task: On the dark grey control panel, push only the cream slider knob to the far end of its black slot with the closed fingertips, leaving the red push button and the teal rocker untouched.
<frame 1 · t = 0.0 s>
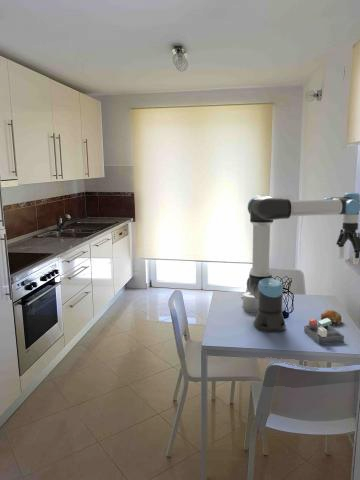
hand: (348, 261, 205), 28 cm above the table, fingers open, 13 cm apart
bread roll: (330, 322, 195), on the table
red button: (313, 322, 180), point 6 cm above the table, slide at 0.0 cm
slider knob: (322, 331, 171), point 5 cm above the table, slide at 0.0 cm
toilet tissue: (250, 308, 216), on the table
panel: (323, 336, 177), on the table
rocker: (324, 322, 181), point 5 cm above the table, hinge at -15.0°
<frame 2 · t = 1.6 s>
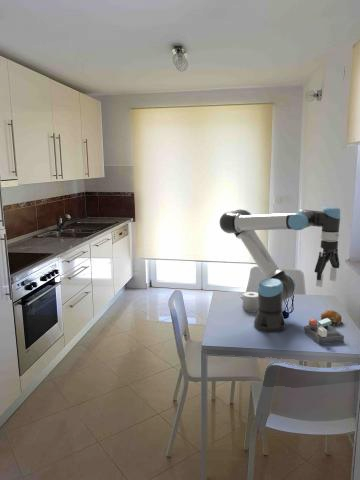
hand: (326, 283, 182), 23 cm above the table, fingers open, 13 cm apart
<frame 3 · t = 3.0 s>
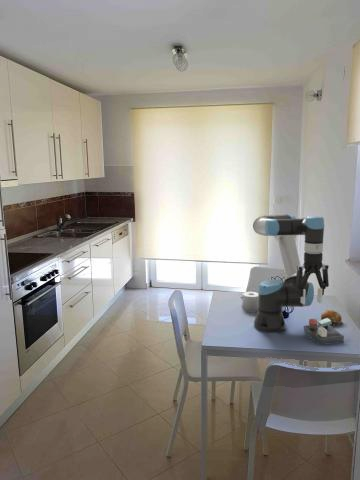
hand: (311, 302, 167), 19 cm above the table, fingers open, 7 cm apart
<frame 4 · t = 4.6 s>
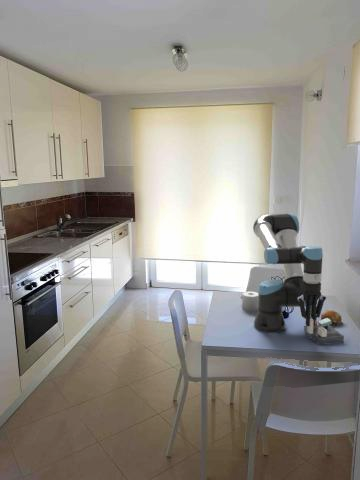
hand: (309, 332, 170), 5 cm above the table, fingers closed
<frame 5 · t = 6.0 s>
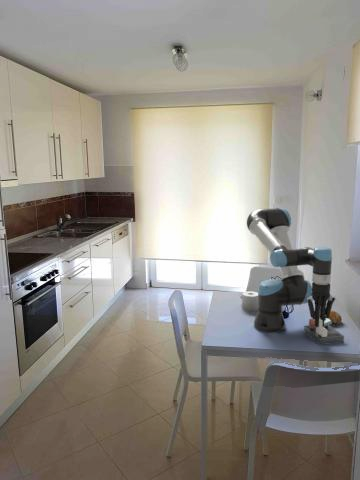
hand: (319, 333, 170), 5 cm above the table, fingers closed
slider knob: (322, 331, 171), point 5 cm above the table, slide at 0.2 cm, touching gripper
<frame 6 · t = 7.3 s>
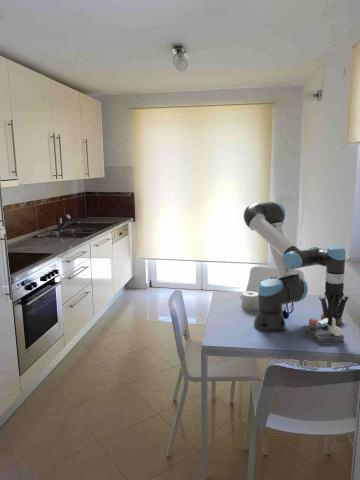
hand: (332, 332, 171), 5 cm above the table, fingers closed
slider knob: (335, 330, 172), point 5 cm above the table, slide at 6.6 cm, touching gripper
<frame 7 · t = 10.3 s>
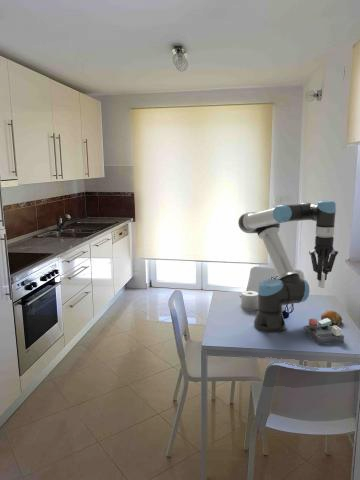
hand: (321, 286, 172), 25 cm above the table, fingers closed
slider knob: (336, 330, 172), point 5 cm above the table, slide at 6.9 cm
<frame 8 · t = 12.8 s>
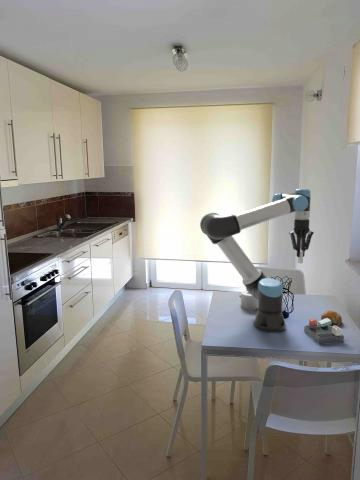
hand: (300, 262, 202), 28 cm above the table, fingers closed
at the end: slider knob slide at 6.9 cm; red button slide at 0.0 cm; rocker at -15° (first picture: -15°) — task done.
